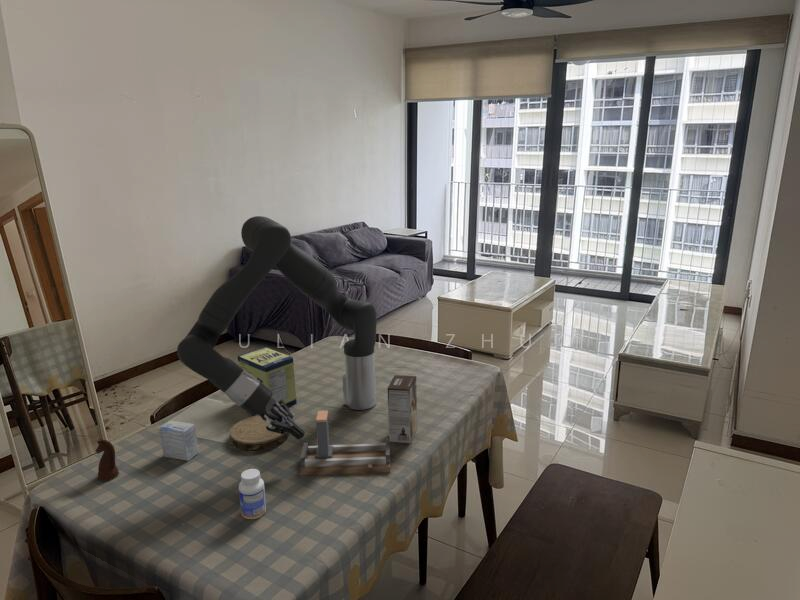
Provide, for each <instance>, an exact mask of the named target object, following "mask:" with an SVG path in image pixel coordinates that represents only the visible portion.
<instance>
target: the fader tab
mask: <svg viewBox="0 0 800 600" xmlns="http://www.w3.org/2000/svg"><path fill="white" fill-rule="evenodd" d="M315 422H316V437H317V446H318V447H317V451H316V456H315V458H316V459H330V458H333V446H330V445H331V442H330V440H331V439H330V426H329V425H330V423H329V422H330V421H329V410H318V411H317V414H316V418H315Z"/></svg>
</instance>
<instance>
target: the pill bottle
mask: <svg viewBox="0 0 800 600" xmlns="http://www.w3.org/2000/svg"><path fill="white" fill-rule="evenodd" d="M240 480H241V481H240V482H239V484H238V493H239V496H238V497H239V503H240V504H239V505H240V513H241V516H242V517H243V518H244V519H247V520H256V519H259V518H261V517H262V516H264V514H265V513H266V511H267V503H266V501H267V500H266V491H265V482H264V479H262V478H261V473H260V470H259V469H258V468H257V469H256V468H250V469H245V470H244V471H242V473H241V474H240Z"/></svg>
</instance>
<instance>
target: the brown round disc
mask: <svg viewBox="0 0 800 600" xmlns="http://www.w3.org/2000/svg"><path fill="white" fill-rule="evenodd" d="M267 426H268V424H267V422H266V421H264V420H263V419H262V418H261V417H260V416H259V415H255V416H250V417H246V418H244V419H241V420H239V421H238V422H236V423H235V424H234V425H233V426H232V427H231V428H230V432H229V433H230V434H229V436H230V443H231V445H232V447H234V448H235V449H237V450H238V451H242V452H249V453H250V452H251V453H252V452H253V453H254V452H255V453H256V452H263V451H265V452H266V451H269V450H271V449H275V448H276V447H278V446H281V445H282V444H283V443H285V442H287V440H288V438H289V436H290V433H289V432H285V433H284V434H280V433H276V432H272V431H268V430H267V429H266V427H267Z"/></svg>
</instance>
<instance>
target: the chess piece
mask: <svg viewBox="0 0 800 600" xmlns="http://www.w3.org/2000/svg"><path fill="white" fill-rule="evenodd" d="M96 443H97V444H98V445H97V448H96V449H95V453H96V454H100V453H102V456H101V457H100V460H99V463H98V469H97V478H98V480H99V481H100V482H108V480H109V481H111V479H112V480H114V479H116V478H117V477H118V476H119V474H120V471H119V468H118V467H117V466H116V465H117V464H116V449H115V447H114V445H113V444H112V442H110V441H108V440H107V439H102V438H100V439H99V440H97V441H96ZM115 477H116V478H115Z"/></svg>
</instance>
